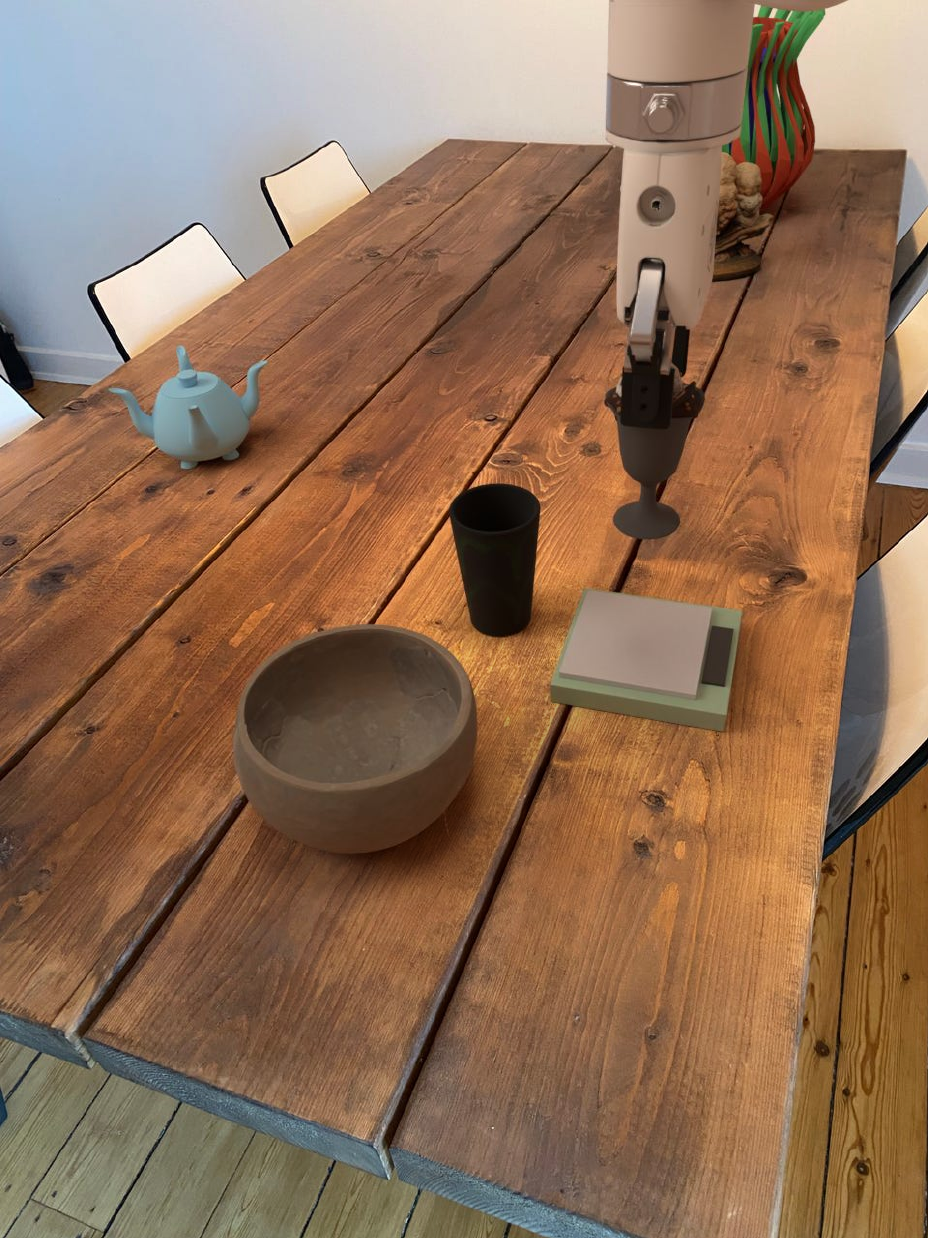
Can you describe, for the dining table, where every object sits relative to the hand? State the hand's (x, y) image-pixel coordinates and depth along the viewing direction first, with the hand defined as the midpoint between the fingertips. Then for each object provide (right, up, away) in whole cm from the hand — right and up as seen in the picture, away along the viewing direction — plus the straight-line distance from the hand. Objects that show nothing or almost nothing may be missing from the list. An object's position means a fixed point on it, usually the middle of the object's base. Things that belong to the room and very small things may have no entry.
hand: (654, 397), depth 64 cm
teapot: (-44, +5, +50) cm, 67 cm away
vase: (+32, +58, +106) cm, 125 cm away
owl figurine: (+25, +40, +84) cm, 97 cm away
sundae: (+1, -8, +7) cm, 10 cm away
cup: (-10, -15, +23) cm, 29 cm away
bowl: (-20, -28, +8) cm, 36 cm away
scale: (+3, -19, +17) cm, 25 cm away
